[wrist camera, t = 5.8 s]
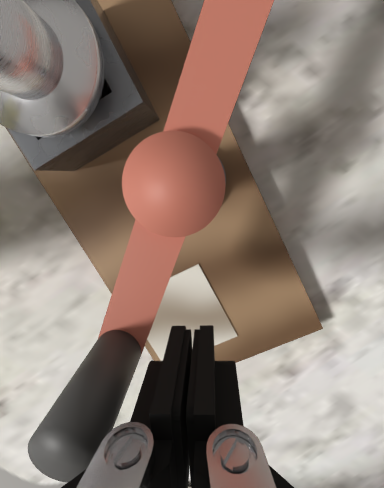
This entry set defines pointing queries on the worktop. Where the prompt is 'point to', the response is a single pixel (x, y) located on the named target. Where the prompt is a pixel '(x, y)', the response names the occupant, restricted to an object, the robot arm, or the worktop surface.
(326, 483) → the worktop surface
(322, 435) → the worktop surface
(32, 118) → the peg
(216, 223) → the board
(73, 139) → the block
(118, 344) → the lever
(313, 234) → the worktop surface
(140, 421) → the robot arm
